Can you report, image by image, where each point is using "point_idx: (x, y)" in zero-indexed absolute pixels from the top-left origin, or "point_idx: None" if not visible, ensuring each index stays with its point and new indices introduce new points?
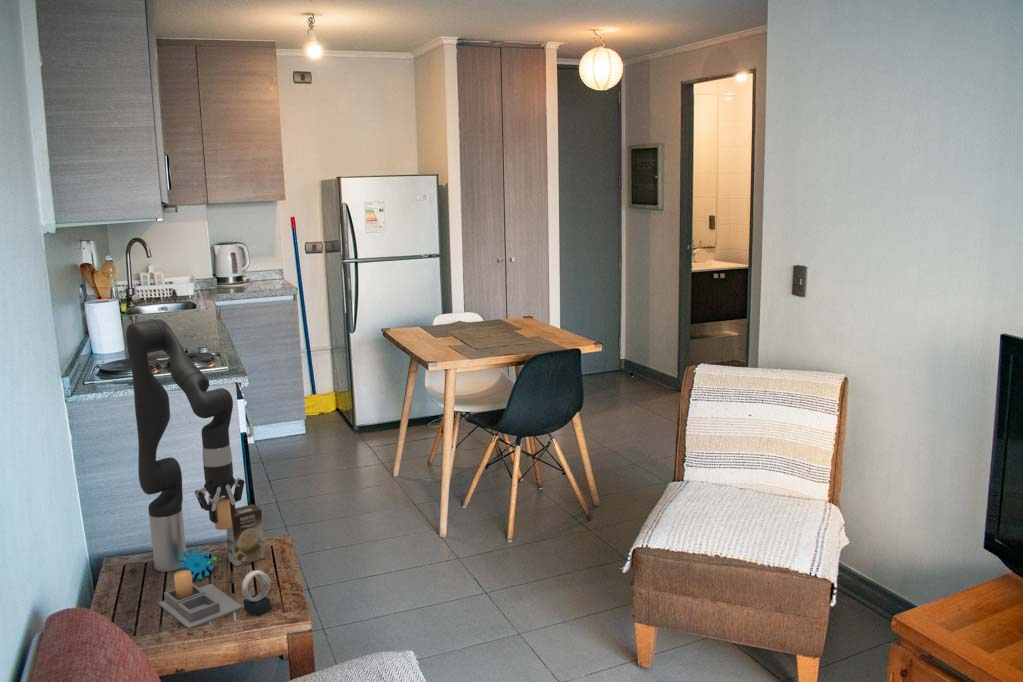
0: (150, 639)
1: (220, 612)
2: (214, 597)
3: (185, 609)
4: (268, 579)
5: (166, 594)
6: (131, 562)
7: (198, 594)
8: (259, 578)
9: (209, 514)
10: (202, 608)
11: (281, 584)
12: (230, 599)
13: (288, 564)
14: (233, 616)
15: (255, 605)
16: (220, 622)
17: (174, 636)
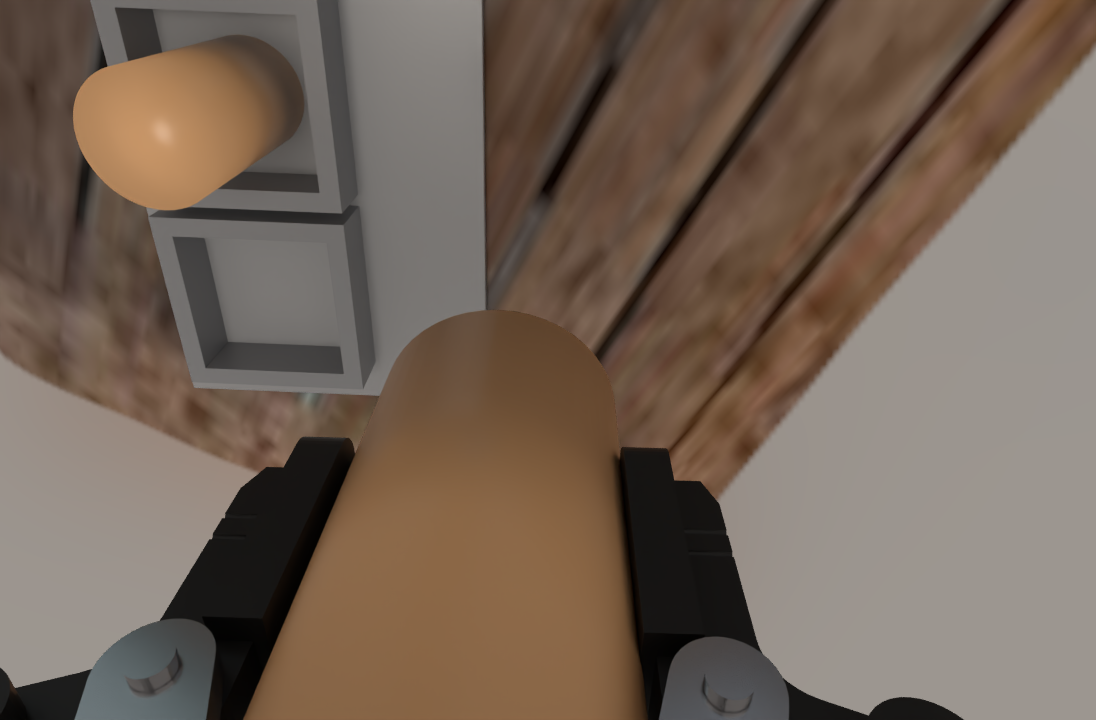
0: (12, 329)
1: (373, 372)
2: (415, 197)
3: (179, 321)
4: None
5: (99, 27)
6: None
7: (296, 209)
8: None
9: (201, 573)
10: (265, 379)
11: (785, 321)
12: (475, 291)
13: (1032, 113)
14: None
15: None
16: (347, 424)
17: (125, 384)
